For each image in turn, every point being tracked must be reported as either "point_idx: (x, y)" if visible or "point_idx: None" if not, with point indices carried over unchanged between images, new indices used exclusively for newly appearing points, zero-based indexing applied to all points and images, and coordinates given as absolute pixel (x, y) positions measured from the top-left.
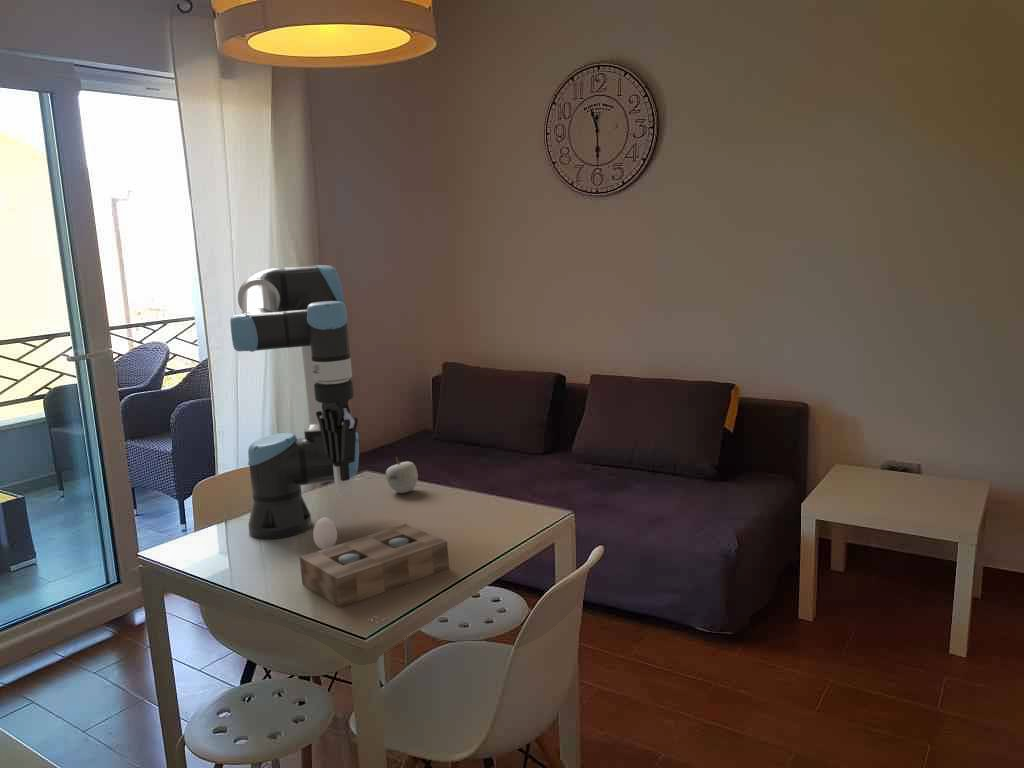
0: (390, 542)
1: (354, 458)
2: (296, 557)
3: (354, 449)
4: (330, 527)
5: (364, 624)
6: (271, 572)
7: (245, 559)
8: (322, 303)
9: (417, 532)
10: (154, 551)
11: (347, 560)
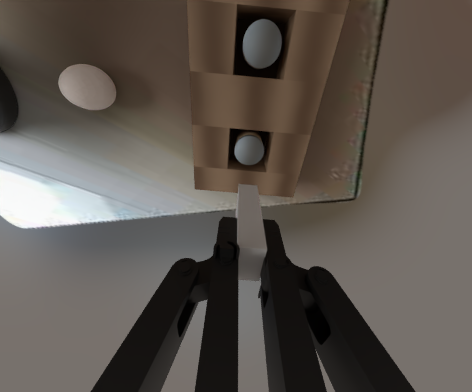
0: (253, 61)
1: (336, 283)
2: (113, 134)
3: (371, 335)
4: (95, 86)
5: (335, 185)
6: (144, 176)
7: (84, 175)
8: None
9: None
10: (8, 219)
11: (256, 158)
